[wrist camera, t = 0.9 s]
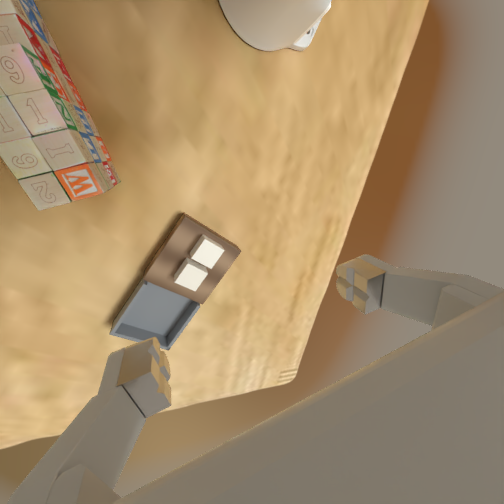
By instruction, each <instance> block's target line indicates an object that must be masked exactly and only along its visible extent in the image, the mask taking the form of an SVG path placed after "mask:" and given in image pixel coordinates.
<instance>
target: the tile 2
mask: <svg viewBox="0 0 504 504" xmlns="http://www.w3.org/2000/svg"><path fill="white" fill-rule="evenodd" d="M224 251H225V250H224V249H223V247H222V246H221V245H220V244H218V243H217V242H215V241H213V240H212V239H210V238H208V237H207V236H205V235H203V234H202V236H201V237H200V239H199V240H198V242H197V243H196V245H195V246H194V247H193V249H192V250H191V252H190V256H191V259H193V260H195V261H197V262H199V263H201V264H203V265H205V266H207V267H208V268H210V269H212V267H213V266H214V265H215V263H216V262H217V260H218V259H219V258H220V256H221V255H222V253H223V252H224Z"/></svg>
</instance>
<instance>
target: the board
mask: <svg viewBox="0 0 504 504" xmlns="http://www.w3.org/2000/svg"><path fill="white" fill-rule="evenodd" d="M202 234H203V235H205V236H207V237H208V238H210V239H212V240H213V241H215V242H217V243H218V244H220V245H221V246H222V247H223V249H224V250H225V251H224V252H223V253H222V255H221V256H220V258H219V259H218V260H217V262H216V263H215V265H214V266H213V267H212V269H210V268H208V267H207V266H205V265H203V264H201V263H199V262H197V261H195V260H193V259H191V256H190V252H191V250H192V249H193V247H194V246H195V245H196V243H197V242H198V240H199V239H200V237H201V236H202ZM240 252H241V250H240V249H239V248H238V247H237V246H236V245H235V244H233V243H232V242H230V241H228V240H227V239H225V238H224V237H222V236H221V235H219V234H217V233H216V232H214V231H213V230H211V229H209V228H208V227H206V226H205V225H203V224H201V223H200V222H198V221H197V220H195V219H193V218H192V217H190V216H189V215H187V214H185V213H183V215H182V216H181V218H180V219H179V221H178V222H177V224H176V225H175V227H174V228H173V230H172V231H171V233H170V234H169V236H168V237H167V238H166V240H165V241H164V243H163V244H162V246H161V247H160V249H159V250H158V252H157V253H156V255H155V256H154V258H153V259H152V261H151V262H150V264H149V265H148V267H147V268H146V270H145V271H144V276H143V280H145V281H147V282H150V283H152V284H154V285H157V286H159V287H162V288H164V289H167V290H169V291H171V292H174V293H176V294H179V295H181V296H183V297H186V298H188V299H191V300H193V301H196V302H198V303H200V304H203V303H204V302H205V301H206V299H207V298H208V296H209V295H210V294H211V292H212V291H213V290H214V288H215V287H216V285H217V284H218V283H219V281H220V280H221V279H222V277H223V276H224V274H225V273H226V272H227V270H228V269H229V268H230V266H231V265H232V263H233V262H234V261H235V259H236V258H237V257H238V255H239V254H240ZM186 257H187V258H189V259H191V260H193V261H195V262H196V263H198V264H200V265H202V266H204V267H206V269H207V272H208V274H207V276H206V277H205V279H204V280H203V281H202V283H201V284H200V286H199V287H198V288H197V290H196V291H193V290H191V289H188V288H186V287H184V286H181V285H179V284H177V283H175V281H174V275H175V273H176V272H177V270H178V269H179V268H180V266H181V265H182V263H183V262H184V260H185V259H186Z"/></svg>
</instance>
